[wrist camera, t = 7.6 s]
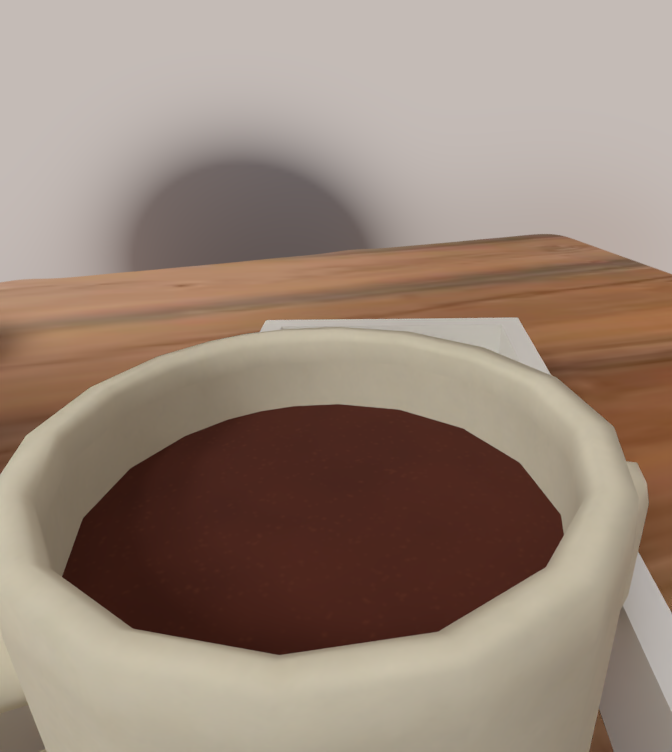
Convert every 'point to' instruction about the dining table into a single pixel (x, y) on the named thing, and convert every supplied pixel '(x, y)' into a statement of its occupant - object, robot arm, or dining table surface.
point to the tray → (444, 333)
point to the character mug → (317, 552)
